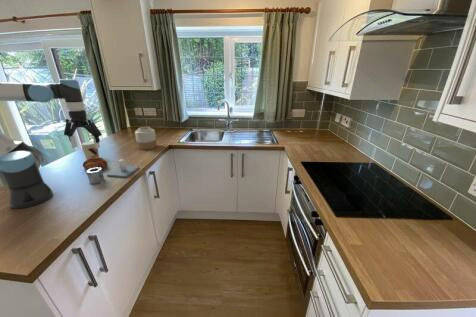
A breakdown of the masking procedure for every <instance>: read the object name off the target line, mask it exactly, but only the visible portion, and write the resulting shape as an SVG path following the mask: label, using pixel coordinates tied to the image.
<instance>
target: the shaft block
mask: <svg viewBox="0 0 476 317" xmlns="http://www.w3.org/2000/svg"><path fill="white" fill-rule="evenodd" d="M118 164H119V167H118V168H116V169H114V170H113V171H111V172H109V173H107V175H106V176H107V177H108V178H109V177H110V178H123V179H126V178H128V177H129V176H130V175H132V174H134V173H135V172H136V171H138V170H139V169H140V166H137V165H136V166H134V165H126V160H125V159H124V158H123V159H119V160H118Z"/></svg>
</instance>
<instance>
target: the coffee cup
mask: <svg viewBox="0 0 476 317" xmlns="http://www.w3.org/2000/svg"><path fill="white" fill-rule="evenodd" d="M80 146H81V149H82V151H83V154H84V157H85V160H88V159H90V158H94V157H99V158H100V156H99V148H98V149H96V148H95V144H94V140H91V141H85V142H82V143H80Z"/></svg>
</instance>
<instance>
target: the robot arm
mask: <svg viewBox="0 0 476 317" xmlns="http://www.w3.org/2000/svg"><path fill="white" fill-rule="evenodd" d="M60 99H61V100H62V99H63V100H64V102H65V105H66V109H67V113H68V117H69V118H65V126H64V131H63V135H64V136H67V137H68V140H69V142H70V144H71V147H72V149H75V148H77V147H78V143H77V140H76V136H75V135H74V134H75V132H76V131H77V128H80V129H81V128H83V129H85V130H87V132H89V134H90V135H91V136H93V137H92V141H94V144H95V148H96V149H98V150H99V149H100V148H101V146H100V142H101V141H100V136H102V135H103V134H102V133H101V130H99V127H98V126H96V124H95V122H94V119H93V118H90V119H89V118H87V111H86V110H85V108H86V106H85V104H84V98H83V95H82V91H81V86H80V84H79V81H78V80H77V79H74V78H73V79H72V78H71V79H70V78H67V79H66V78H61V79H59V82H58V83H56V82H53V83H52V82H51V83H49V82H48V83H47V82H34V83H33V82H31V83H27V82H26V83H24V82H8V81H7V82H4V81H3V82H2V81H1V82H0V102H31V103H33V102H35V103H36V102H37V103H41V104H43V103H48V102H51V101H52V100H60ZM43 163H44V155H43V152H42V151H41V149H39V148H37V147H36V146H33V145H29V144H27V143H25V142H24V141H22V140H14V138H11V137H10V136H8V135H7V134H5V133H4V132H2V131H1V130H0V172H1V175H2V177H3V179H4V181H5V184H6V187H8V190H9V195H8V197H9V198H8V199H9V200H8V204H9V205H10V207H11V208H12V209H26V208H30V207H34V206H38V205H40V204H42V203H44V202H47V201H49V200H50V199H51V198H52V197H53V195H54V192H53V190H52V188H50V187H49V185H48V184H47V183H45V181H44V180H43V177H42V174H41V171H40V167H41V165H42V164H43Z"/></svg>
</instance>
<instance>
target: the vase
mask: <svg viewBox="0 0 476 317" xmlns="http://www.w3.org/2000/svg"><path fill="white" fill-rule="evenodd" d="M134 136H135V140H136V146H137V149H138V150H141V151H147V150H148V149H149V150H154V149H155V147H156V148H157V146H158V145H157V139H156V138H157V137H156V131H155V129H154V128H151V127H150V126H141V127H138V128H137V129H136V130H135V131H134Z"/></svg>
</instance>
